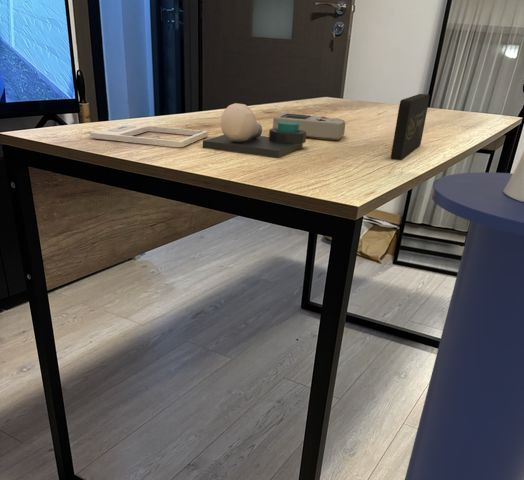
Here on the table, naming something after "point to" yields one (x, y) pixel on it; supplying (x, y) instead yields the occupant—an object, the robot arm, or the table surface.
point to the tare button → (288, 127)
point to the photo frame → (128, 130)
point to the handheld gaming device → (314, 125)
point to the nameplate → (409, 125)
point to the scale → (261, 143)
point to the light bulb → (239, 123)
